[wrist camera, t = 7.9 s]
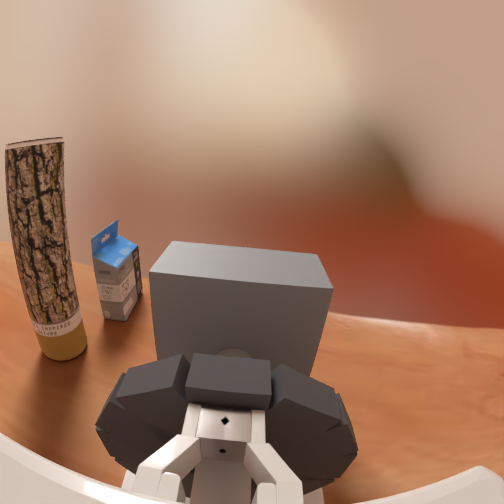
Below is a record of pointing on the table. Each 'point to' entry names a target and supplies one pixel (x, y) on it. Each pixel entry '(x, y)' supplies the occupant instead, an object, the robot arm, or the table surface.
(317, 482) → the ring
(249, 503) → the pipe rig
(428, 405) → the table surface
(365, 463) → the table surface
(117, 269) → the label tape box
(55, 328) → the paper tube
